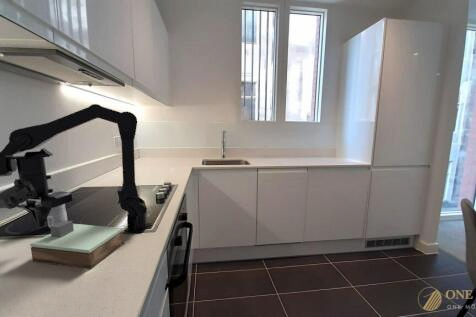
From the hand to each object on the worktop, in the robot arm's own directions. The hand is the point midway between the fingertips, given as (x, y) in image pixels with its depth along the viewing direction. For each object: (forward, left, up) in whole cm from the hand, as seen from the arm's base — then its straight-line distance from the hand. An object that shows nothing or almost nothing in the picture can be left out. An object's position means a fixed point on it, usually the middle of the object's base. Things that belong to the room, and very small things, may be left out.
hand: (41, 226), depth 64 cm
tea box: (0, +13, -7) cm, 15 cm away
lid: (0, +13, -3) cm, 13 cm away
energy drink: (-13, -10, -7) cm, 18 cm away
